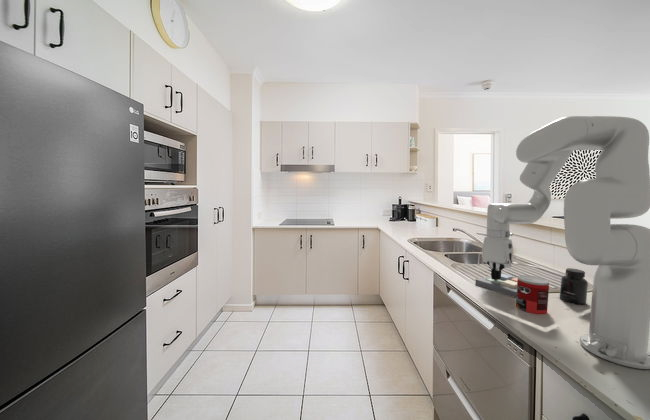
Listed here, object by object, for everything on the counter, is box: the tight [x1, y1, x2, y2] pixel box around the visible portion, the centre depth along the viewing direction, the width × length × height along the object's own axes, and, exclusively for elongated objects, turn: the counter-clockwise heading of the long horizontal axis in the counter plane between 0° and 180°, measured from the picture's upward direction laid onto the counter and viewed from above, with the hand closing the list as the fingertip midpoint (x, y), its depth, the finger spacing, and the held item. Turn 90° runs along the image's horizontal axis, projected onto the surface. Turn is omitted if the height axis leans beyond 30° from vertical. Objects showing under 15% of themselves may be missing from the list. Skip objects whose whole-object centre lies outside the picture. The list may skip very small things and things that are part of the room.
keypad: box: [475, 275, 517, 298], centre depth 105 cm, size 17×15×3 cm
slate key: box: [500, 272, 514, 281], centre depth 109 cm, size 4×4×2 cm
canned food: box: [515, 274, 550, 316], centre depth 85 cm, size 8×8×11 cm
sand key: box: [502, 280, 517, 289], centre depth 101 cm, size 4×4×2 cm
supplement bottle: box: [558, 267, 589, 306], centre depth 91 cm, size 7×7×12 cm
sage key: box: [486, 278, 502, 284], centre depth 106 cm, size 4×4×2 cm
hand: (495, 279), depth 105 cm, fingers closed
